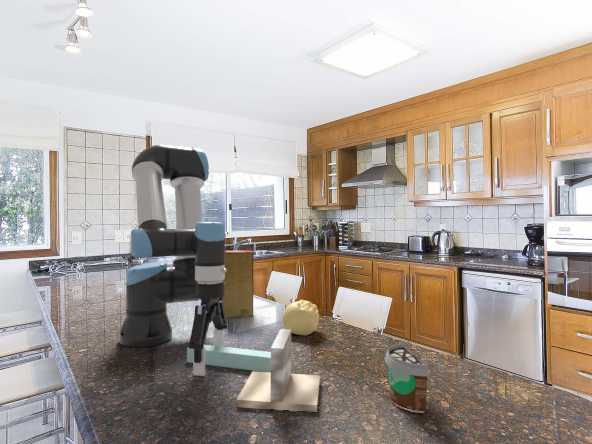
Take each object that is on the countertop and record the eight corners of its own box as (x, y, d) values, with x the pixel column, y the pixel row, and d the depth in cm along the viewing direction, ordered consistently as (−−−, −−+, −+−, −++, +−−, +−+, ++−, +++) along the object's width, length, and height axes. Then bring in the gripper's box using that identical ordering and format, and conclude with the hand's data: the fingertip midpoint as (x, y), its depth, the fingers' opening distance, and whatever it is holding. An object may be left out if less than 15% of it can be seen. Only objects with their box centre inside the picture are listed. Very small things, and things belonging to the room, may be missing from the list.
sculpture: (316, 339, 109) (316, 305, 109) (279, 336, 111) (279, 303, 111) (321, 328, 120) (321, 297, 120) (287, 326, 123) (287, 295, 123)
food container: (376, 387, 78) (377, 343, 78) (403, 387, 79) (403, 342, 78) (397, 419, 66) (397, 366, 66) (428, 418, 66) (429, 365, 66)
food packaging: (249, 310, 144) (249, 249, 143) (254, 316, 135) (254, 251, 134) (216, 312, 139) (216, 250, 139) (218, 319, 130) (219, 252, 130)
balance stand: (236, 407, 70) (237, 347, 69) (252, 377, 82) (252, 327, 82) (316, 412, 68) (317, 351, 68) (320, 381, 81) (320, 330, 81)
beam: (186, 363, 91) (187, 348, 91) (194, 358, 95) (194, 343, 95) (282, 375, 85) (282, 359, 85) (286, 369, 88) (286, 353, 88)
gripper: (205, 291, 77) (205, 386, 77) (237, 274, 102) (237, 346, 102) (173, 290, 78) (173, 384, 78) (213, 273, 103) (212, 345, 103)
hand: (209, 363), depth 90 cm, fingers open, 13 cm apart
